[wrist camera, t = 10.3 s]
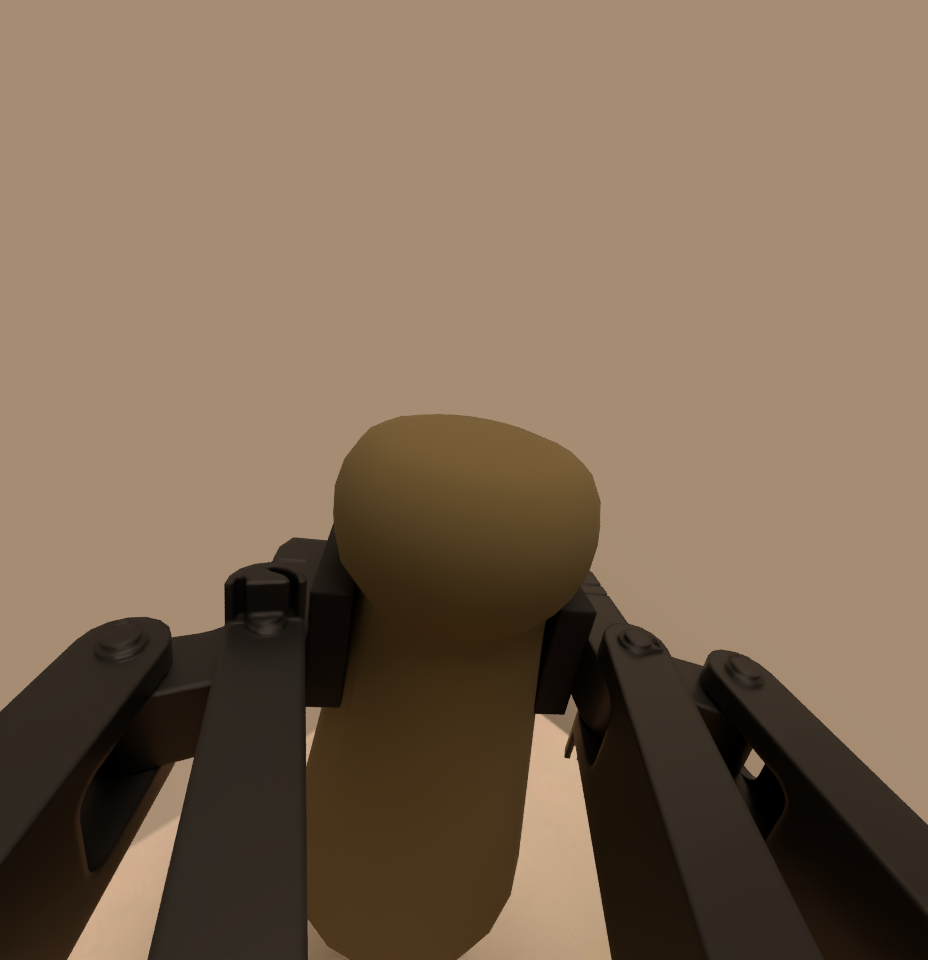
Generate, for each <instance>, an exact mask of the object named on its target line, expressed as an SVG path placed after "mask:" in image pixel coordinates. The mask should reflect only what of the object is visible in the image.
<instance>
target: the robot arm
mask: <svg viewBox="0 0 928 960" xmlns="http://www.w3.org/2000/svg"><path fill="white" fill-rule="evenodd" d="M355 588H356V582H355V581H354V580H353V578H352V577H351V575H350V574H349V573H348V571H347V570H346V569H345V567H344V566H343V564H342V563H341V561H340V556H339V552H338V547H337V542H336V537H335V531H334V523H333V526H332V529H331V532H330V535H329V538H328V541H327V540H316V539H305V538H292V539H291V540H289V541H288V542H286V543H285V544H283V545H282V546H280V547H279V549H278V551H277V553H276V555H275V556H274V558H273V561H272V562H268V563H259V564H253V565H250V566H247V567H244V568H241V569H239V570H238V571H236V572H235V573H233V574H232V575H230V576H229V578H228V579H227V581H226V582H225V626H223V627H221V628H218V629H215V630H212V631H208V632H204V633H199V634H192V635H186V636H179V637H171V632H170V628H169V626H167V625H166V624H165V623H163V622H162V621H161V620H157V619H152V618H148V617H135V618H134V617H133V618H125V619H120V620H115V621H112V622H108V623H105V624H103V625H101V626H98V627H96V628H94V629H91V630H90V631H88V632H87V633H85V634H84V635H83V636H81V637H80V638H78V639H77V640H76V641H75V642H74V643H73V644H71V645H70V646H69V647H68V648H67V649H66V650H65V651H64V652H63V653H62V654H61V655H60V656H59V657H58V658H57V659H56V660H54V662H52V663H51V664H50V665H49V666H48V667H47V668H46V669H45V670H44V671H43V672H42V673H41V674H40V675H39V676H38V677H36V679H34V680H33V681H32V682H31V683H30V684H29V685H28V686H27V687H26V688H25V689H24V690H23V691H22V692H21V693H20V694H19V695H17V696H16V697H15V698H14V699H13V700H12V701H11V702H10V703H9V704H8V705H7V706H6V707H5V708H4V709H3V710H2V711H1V712H0V960H67V959H68V957H69V955H70V953H71V952H72V950H73V948H74V946H75V944H76V942H77V941H78V939H79V937H80V935H81V933H82V932H83V930H84V928H85V926H86V924H87V922H88V921H89V919H90V917H91V915H92V913H93V912H94V910H95V908H96V906H97V904H98V902H99V901H100V899H101V897H102V895H103V893H104V892H105V890H106V888H107V886H108V884H109V882H110V881H111V879H112V877H113V875H114V873H115V872H116V870H117V868H118V866H119V864H120V862H121V861H122V859H123V857H124V855H125V853H126V852H127V850H128V848H129V846H130V844H131V842H132V841H133V839H134V837H135V835H136V833H137V831H138V830H139V828H140V826H141V824H142V822H143V821H144V819H145V817H146V815H147V813H148V811H149V810H150V808H151V806H152V804H153V802H154V801H155V799H156V797H157V795H158V793H159V792H160V790H161V788H162V786H163V784H164V782H165V781H166V779H167V777H168V775H169V773H170V772H171V770H172V768H173V766H174V764H175V762H177V761H181V760H185V759H189V758H192V757H194V760H193V765H192V769H191V774H190V778H189V782H188V786H187V791H186V795H185V800H184V804H183V808H182V812H181V817H180V821H179V825H178V830H177V834H176V839H175V843H174V847H173V852H172V856H171V860H170V865H169V869H168V873H167V878H166V882H165V886H164V891H163V895H162V899H161V904H160V908H159V912H158V917H157V921H156V925H155V930H154V934H153V938H152V943H151V947H150V951H149V956H148V960H308V933H307V818H306V715H305V714H306V708H305V707H331V708H340V704H341V701H342V696H343V687H344V679H345V670H346V662H347V653H348V644H349V636H350V627H351V619H352V611H353V604H354V596H355ZM570 695H572V697H573V699H574V701H575V704H576V706H577V708H578V711H577V714H576V718H575V720H574V723H573V727H572V730H571V732H570V735H569V738H568V741H567V744H566V747H565V756H564V758H569V759H570V756H571V753H572V750H573V747H574V746H575V745H576V751H577V760H578V763H579V769H580V775H581V781H582V787H583V793H584V798H585V804H586V810H587V816H588V822H589V828H590V834H591V840H592V846H593V852H594V858H595V864H596V870H597V875H598V881H599V887H600V893H601V899H602V905H603V911H604V917H605V923H606V929H607V935H608V941H609V946H610V952H611V958H612V960H928V825H927V824H926V823H925V822H924V821H923V820H922V819H921V818H920V817H919V816H918V815H917V814H916V813H915V812H914V811H913V810H912V809H911V808H910V807H909V806H907V804H906V803H905V802H903V801H902V800H901V799H900V798H899V797H898V796H897V795H896V794H895V793H894V792H893V791H892V790H891V789H890V788H889V787H888V786H887V785H886V784H885V783H884V782H883V781H882V780H881V779H880V778H879V777H878V776H877V775H875V773H874V772H872V771H871V770H870V769H869V768H868V767H867V766H866V765H865V764H864V763H863V762H862V761H861V760H860V759H859V758H858V757H857V756H856V755H855V754H854V753H853V752H852V751H851V750H849V748H848V747H847V746H845V744H844V743H842V742H841V741H840V740H839V739H838V738H837V737H836V736H835V735H834V734H833V733H832V732H831V731H830V730H829V729H828V728H827V727H826V726H825V725H824V724H823V723H822V722H821V721H820V720H819V719H818V718H817V717H816V716H814V715H813V713H811V712H810V711H809V710H808V709H807V708H806V707H805V706H804V705H803V704H802V703H801V702H800V701H799V700H798V699H797V698H796V697H795V696H794V695H793V694H792V693H791V692H790V691H789V690H788V689H787V688H786V687H785V686H784V685H782V684H781V683H780V682H779V681H778V680H777V679H776V678H775V677H774V676H773V675H772V674H771V673H770V672H769V671H767V670H766V669H765V668H764V667H762V666H761V665H760V664H758V663H756V662H755V661H753V660H751V659H750V658H749V657H747V656H744V655H740V654H739V653H736V652H732V651H726V650H716V651H712V652H711V653H710V654H709V655H708V657H707V659H706V662H705V664H704V666H701V665H697V664H694V663H691V662H687V661H683V660H680V659H676V658H673V657H671V655H670V653H669V651H668V649H667V648H666V647H665V645H664V644H663V643H662V641H661V640H659V639H658V638H657V637H656V636H654V635H653V634H652V633H650V632H648V631H646V630H644V629H642V628H640V627H638V626H634V625H631V624H628V623H627V622H626V620H625V619H624V617H623V616H622V614H621V613H620V611H619V610H618V609H617V607H616V606H615V604H614V603H613V601H612V600H611V599H610V597H609V596H607V593H606V591H605V590H604V589H603V587H601V586H600V583H599V581H598V580H597V579H596V577H595V576H594V574H593V573H592V572H591V571H589V573H588V575H587V577H586V578H585V580H584V581H583V583H582V584H581V586H580V587H579V589H578V590H577V592H576V593H575V595H574V596H573V598H572V599H571V600H570V601H569V602H568V603H567V604H566V605H565V606H563V607H562V608H561V609H560V610H559V611H558V612H557V613H556V614H555V615H554V616H552V617H550V618H549V619H547V620H546V627H545V634H544V641H543V648H542V655H541V662H540V669H539V676H538V683H537V690H536V697H535V704H534V713H533V714H560V715H564V714H565V711H566V708H567V705H568V701H569V698H570ZM752 748H753V749H754V750H755V752H756V753H757V754H758V755H759V757H760V758H761V759H762V760H763V761H764V763H765V765H764V767H763V769H762V770H761V772H760V774H759V776H758V777H757V778H756V777H754V776H753V775H752V774H751V773H750V772H749V771H748V770H747V769H746V767H745V766H744V764H745V762H746V760H747V758H748V756H749V754H750V752H751V750H752Z"/></svg>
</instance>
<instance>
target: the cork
mask: <svg viewBox="0 0 928 960" xmlns="http://www.w3.org/2000/svg"><path fill="white" fill-rule="evenodd" d="M333 517H334V531H335V537H336V542H337V547H338V552H339V556H340V561H341V563H342V564H343V566H344V567H345V569H346V570H347V571H348V573H349V574H350V575H351V577H352V578H353V580H354V581H355V582H356V588H355V596H354V604H353V611H352V619H351V627H350V636H349V644H348V653H347V662H346V670H345V679H344V687H343V696H342V701H341V704H340V708H331V707H322V708H321V712H320V716H319V720H318V724H317V727H316V731H315V735H314V739H313V743H312V747H311V751H310V754H309V758H308V762H307V766H306V818H307V918H308V919H309V921H310V922H311V924H312V925H313V926H314V928H315V929H316V930H317V932H318V933H319V935H320V936H321V937H322V939H323V940H324V942H325V943H326V944H327V946H329V947H330V948H332V949H334V950H335V951H337V952H339V953H340V954H342V955H344V956H345V957H347V958H348V959H350V960H457V959H458V958H460V957H461V956H462V955H463V954H464V953H466V952H467V951H468V950H469V949H470V948H472V947H473V946H474V945H475V944H476V943H477V942H479V941H480V940H481V939H482V938H483V937H485V936H486V935H487V934H488V933H489V932H490V930H491V928H492V927H493V925H494V923H495V921H496V920H497V918H498V916H499V914H500V913H501V911H502V909H503V907H504V906H505V904H506V902H507V900H508V899H509V897H510V895H511V890H512V885H513V880H514V875H515V871H516V866H517V861H518V856H519V848H520V839H521V831H522V823H523V814H524V806H525V797H526V789H527V780H528V772H529V763H530V755H531V746H532V738H533V729H534V721H535V714H533V713H534V704H535V697H536V690H537V683H538V676H539V669H540V662H541V655H542V648H543V641H544V634H545V627H546V620H547V619H549V618H550V617H552V616H554V615H555V614H556V613H557V612H558V611H559V610H560V609H561V608H562V607H563V606H565V605H566V604H567V603H568V602H569V601H570V600H571V599H572V598H573V596H574V595H575V593H576V592H577V590H578V589H579V587H580V586H581V584H582V583H583V581H584V580H585V578H586V577H587V575H588V573H589V570H590V567H591V564H592V561H593V558H594V555H595V552H596V549H597V546H598V538H599V530H600V499H599V495H598V492H597V489H596V486H595V482H594V479H593V476H592V474H591V473H590V472H589V470H588V469H587V468H586V467H585V465H584V464H583V463H582V462H581V461H580V460H579V459H578V458H577V457H576V456H575V455H574V454H572V452H570V451H569V450H567V449H565V448H564V447H562V446H561V445H559V444H557V443H555V442H553V441H551V440H548V439H545V438H543V437H541V436H539V435H536V434H534V433H531V432H529V431H526V430H524V429H522V428H518V427H515V426H512V425H509V424H505V423H501V422H497V421H493V420H488V419H482V418H476V417H470V416H461V415H442V414H434V415H413V416H401V417H397V418H394V419H391V420H388V421H385V422H383V423H380V424H378V425H376V426H373V427H371V428H370V429H369V430H368V431H367V432H366V433H365V434H364V435H363V436H362V437H361V438H360V440H359V441H358V442H357V443H356V445H355V446H354V447H353V448H352V450H351V451H350V452H349V454H348V455H347V456H346V457H345V459H344V462H343V464H342V467H341V470H340V472H339V475H338V478H337V481H336V484H335V493H334V510H333Z"/></svg>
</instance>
